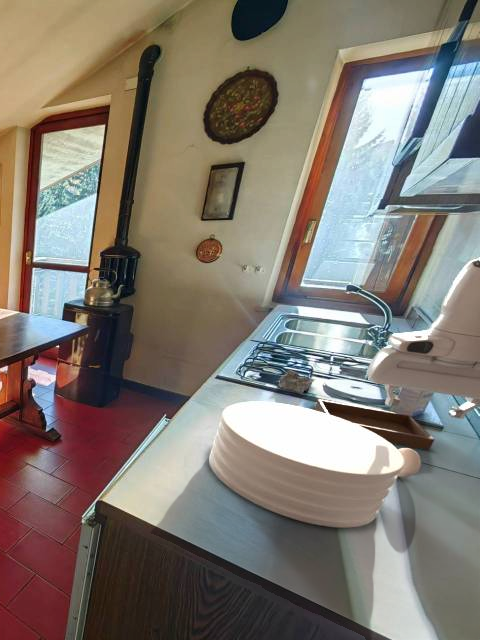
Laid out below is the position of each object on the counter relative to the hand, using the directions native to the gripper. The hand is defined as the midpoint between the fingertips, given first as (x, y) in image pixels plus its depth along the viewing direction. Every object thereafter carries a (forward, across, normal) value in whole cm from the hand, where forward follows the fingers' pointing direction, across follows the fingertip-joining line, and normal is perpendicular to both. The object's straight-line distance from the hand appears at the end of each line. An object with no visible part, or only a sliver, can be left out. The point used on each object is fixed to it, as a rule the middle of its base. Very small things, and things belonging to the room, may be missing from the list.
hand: (421, 411), depth 79 cm
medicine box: (+15, -14, -42) cm, 47 cm away
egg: (+15, -1, +1) cm, 15 cm away
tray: (+15, -2, -24) cm, 28 cm away
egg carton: (+15, +11, -48) cm, 51 cm away
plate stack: (+15, +20, +15) cm, 30 cm away
